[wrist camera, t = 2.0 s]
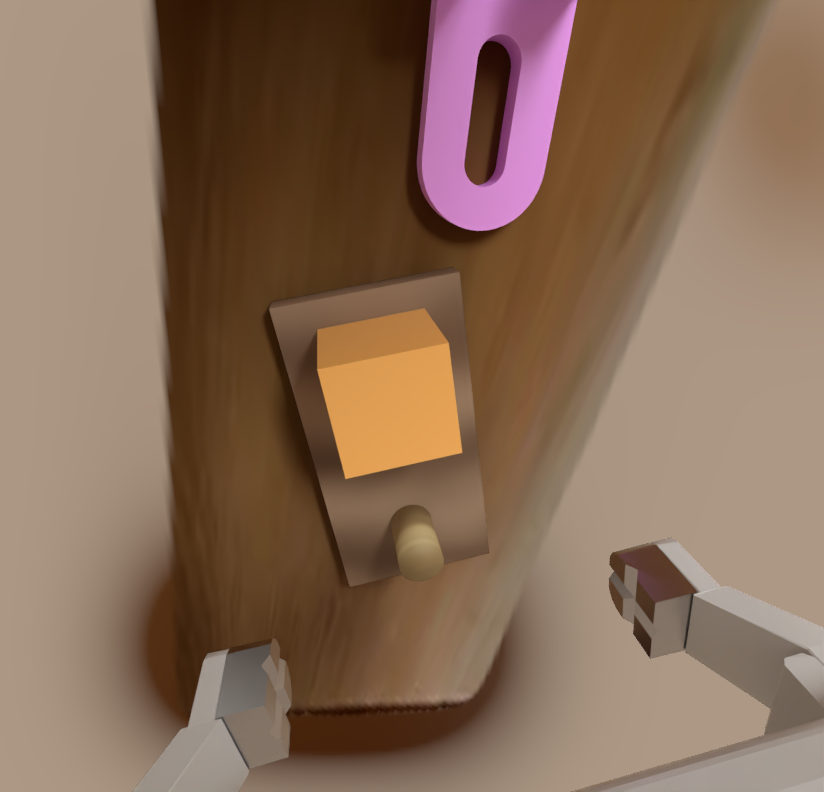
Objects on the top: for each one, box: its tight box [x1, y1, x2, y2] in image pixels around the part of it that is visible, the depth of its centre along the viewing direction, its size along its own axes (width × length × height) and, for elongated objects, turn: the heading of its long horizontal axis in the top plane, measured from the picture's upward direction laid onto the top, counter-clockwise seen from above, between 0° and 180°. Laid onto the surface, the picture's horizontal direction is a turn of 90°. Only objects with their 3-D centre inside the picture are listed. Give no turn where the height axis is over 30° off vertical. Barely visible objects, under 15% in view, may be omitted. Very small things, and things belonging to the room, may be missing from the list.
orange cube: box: [317, 308, 462, 479], centre depth 23 cm, size 5×5×5 cm
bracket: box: [417, 0, 577, 231], centre depth 18 cm, size 13×6×7 cm, turn 174°
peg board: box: [269, 267, 489, 587], centre depth 26 cm, size 18×9×5 cm, turn 9°
